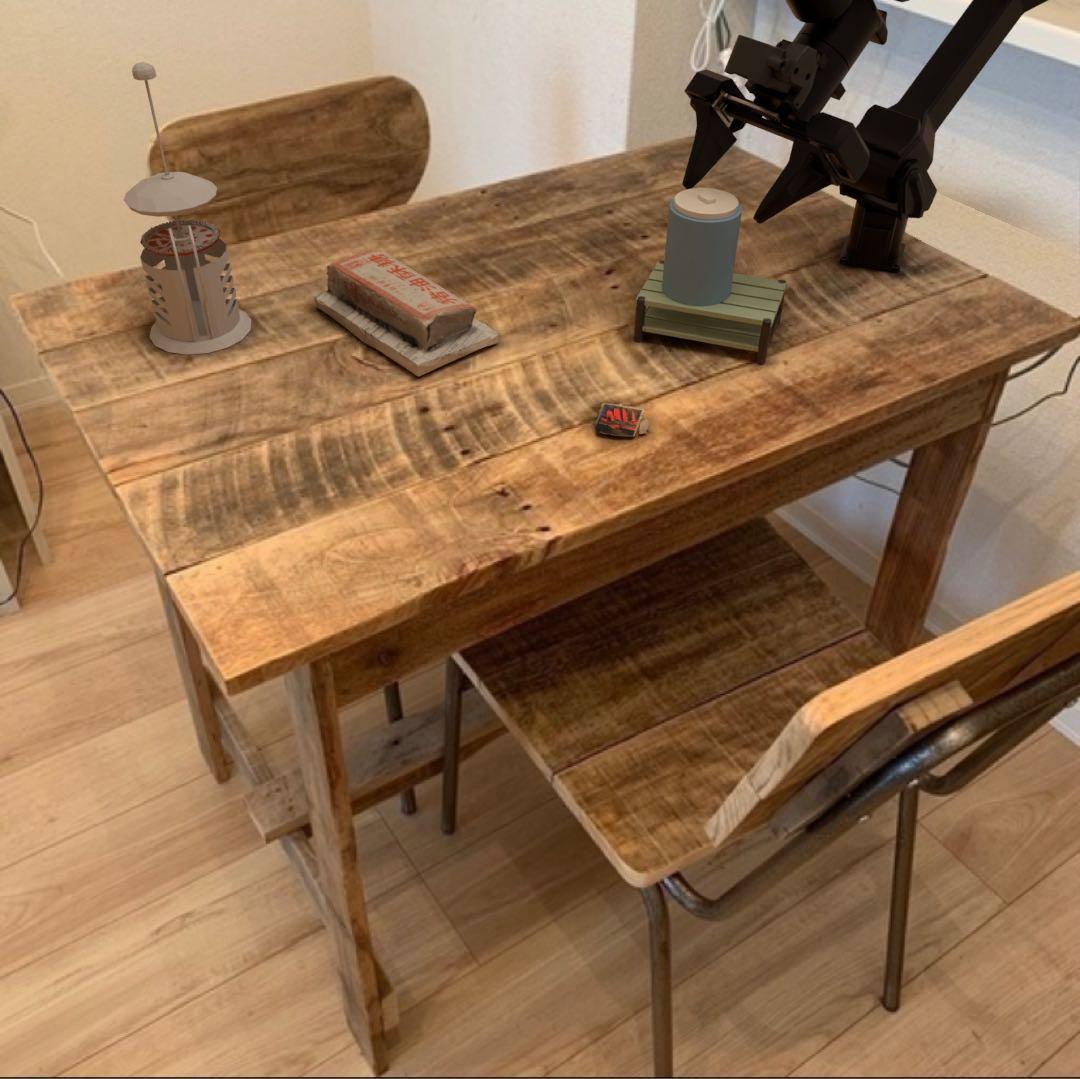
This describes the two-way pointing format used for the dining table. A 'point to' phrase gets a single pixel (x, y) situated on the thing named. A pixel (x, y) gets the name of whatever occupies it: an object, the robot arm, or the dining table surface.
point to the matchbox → (620, 420)
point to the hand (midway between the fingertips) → (719, 203)
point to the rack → (715, 314)
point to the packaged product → (401, 312)
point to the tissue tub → (701, 246)
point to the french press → (185, 260)
